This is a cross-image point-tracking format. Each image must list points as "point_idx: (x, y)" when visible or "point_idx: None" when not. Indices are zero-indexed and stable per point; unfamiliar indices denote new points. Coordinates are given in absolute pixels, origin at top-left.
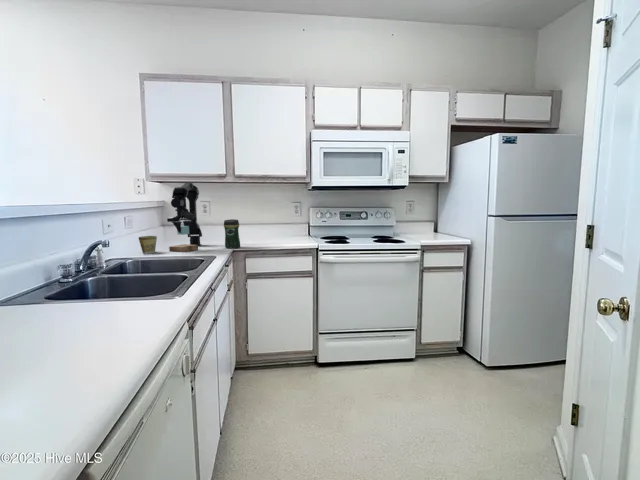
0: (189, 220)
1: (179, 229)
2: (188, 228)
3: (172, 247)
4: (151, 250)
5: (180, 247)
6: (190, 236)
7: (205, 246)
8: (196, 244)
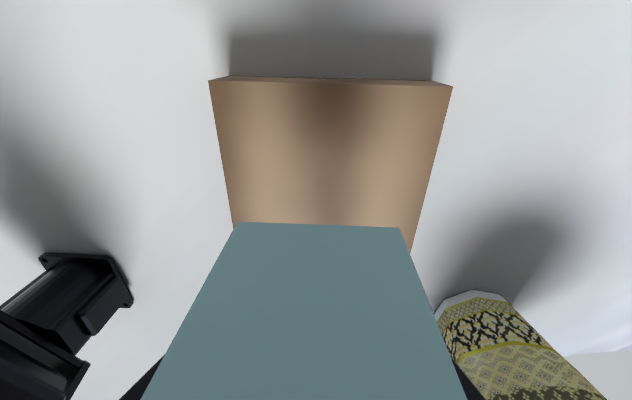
0: None
1: (463, 377)
2: (207, 321)
3: (411, 234)
4: (500, 305)
5: (438, 136)
6: (66, 357)
7: (58, 176)
8: (87, 268)
